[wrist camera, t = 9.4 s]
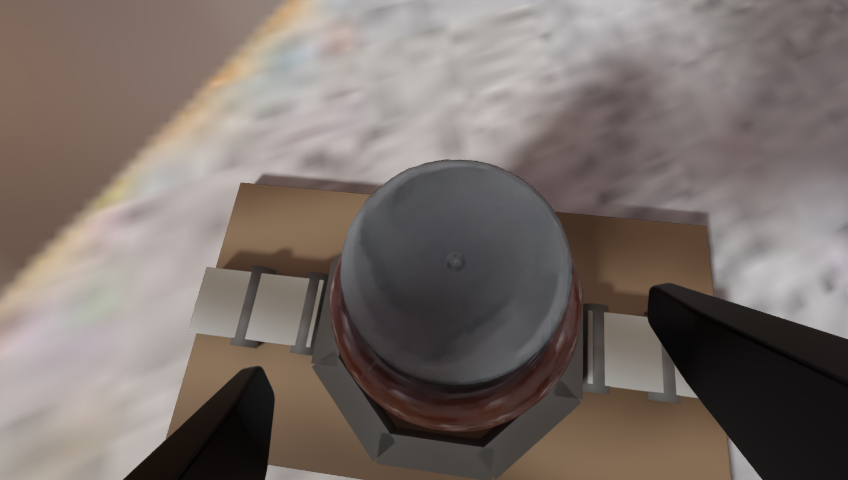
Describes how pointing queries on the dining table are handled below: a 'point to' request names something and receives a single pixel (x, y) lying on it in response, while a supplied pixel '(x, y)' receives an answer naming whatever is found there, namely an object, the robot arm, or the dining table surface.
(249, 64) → the dining table surface
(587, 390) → the octagonal bottle holder
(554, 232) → the supplement bottle
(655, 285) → the robot arm
